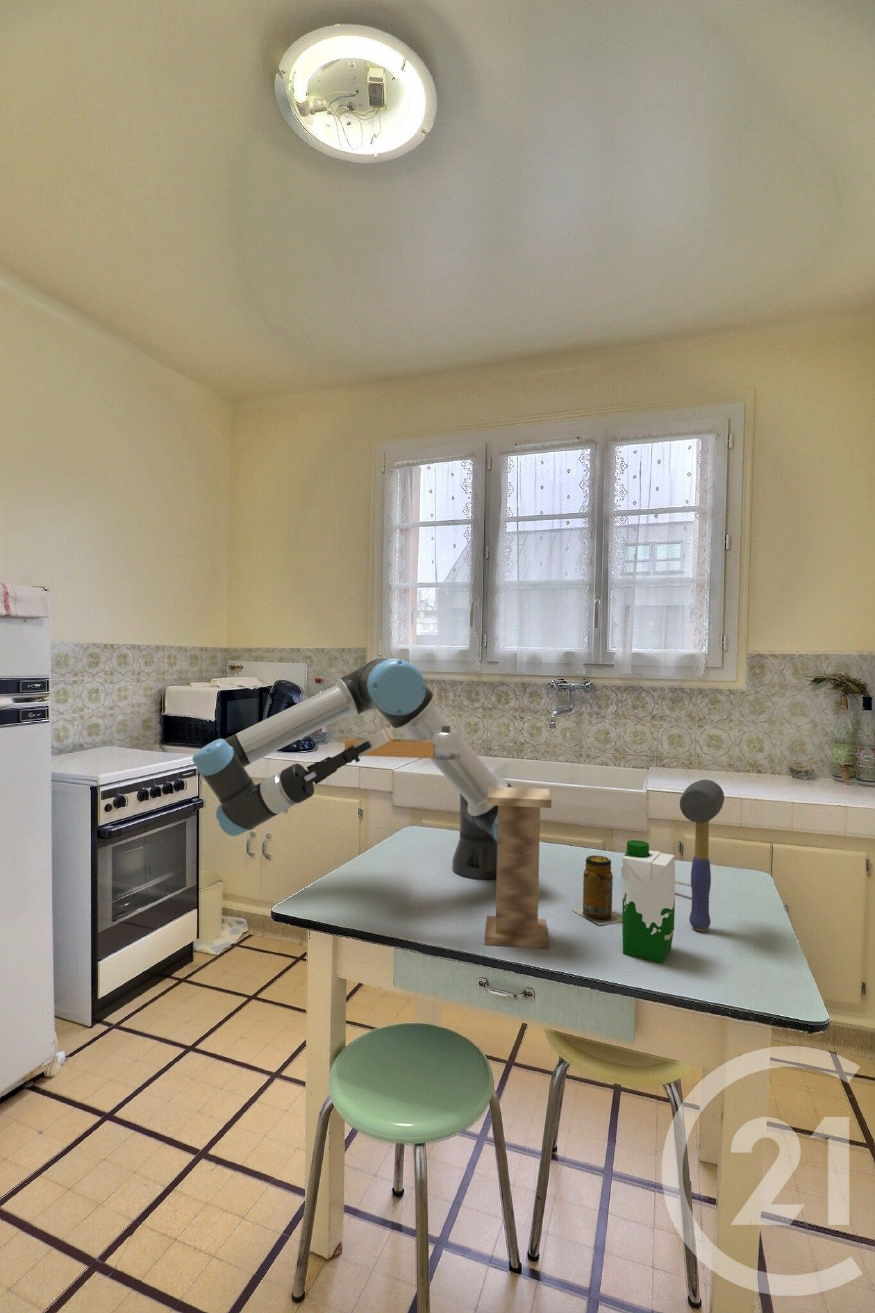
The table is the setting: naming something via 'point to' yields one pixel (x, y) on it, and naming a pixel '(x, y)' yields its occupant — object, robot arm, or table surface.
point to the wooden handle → (419, 746)
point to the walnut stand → (517, 868)
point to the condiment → (598, 891)
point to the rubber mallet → (701, 844)
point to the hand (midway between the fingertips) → (387, 734)
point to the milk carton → (648, 902)
